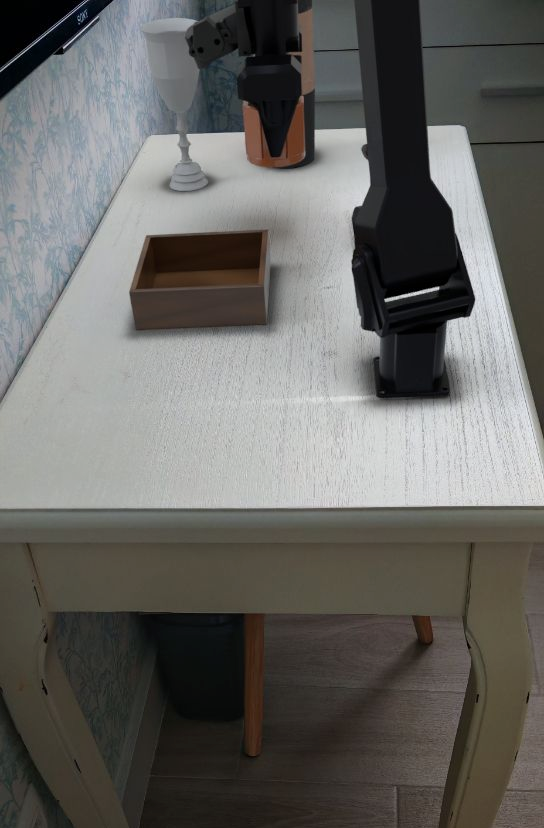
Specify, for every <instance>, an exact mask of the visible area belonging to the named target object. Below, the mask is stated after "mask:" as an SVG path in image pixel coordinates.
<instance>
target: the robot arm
mask: <svg viewBox="0 0 544 828" xmlns="http://www.w3.org/2000/svg"><path fill="white" fill-rule="evenodd" d="M353 1H354V2H353V3H354V12H355V13H354V14H355V23H356V24H355V25H356V35H357V47H358V57H359V58H358V60H359V69H360V81H361V92H362V105H363V111H364V112H363V114H364V124H365V125H364V126H365V136H366V144H367V149H368V160H369V163H368V168H369V170H368V171H369V188H368V190H367V192H366V195H365V197H364V198H363V199H364V200H363V201H362V204H361V205H358V206H355V207H354V209H353V212H352V215H351V225H352V232H353V239H354V240H353V242H354V249H353V252H352V259H351V260H350V261H351V274H352V277H353V285H354V293H355V300H356V301H355V303H356V307H357V310H358V315H359V317H360V328H361V329H362V330H364V331H369V332H372V333H375V334H376V336H378V337H379V356H374V357H373V358H372V365H373V374H374V375H373V376H374V385H375V394H376V395H375V396H376V398H378V399H405V398H406V399H407V398H434V397H435V398H436V397H438V398H439V397H448V396H450V394H451V384H450V380H449V375H448V371H447V365H446V360H445V352H446V340H447V328H448V322H449V321H454V320H457V319H461V318H463V319H465V318H469V317H471V314H472V313H473V310H474V306H475V303H476V296H475V295H476V294H475V292H474V289H473V285H472V282H471V278H470V275H469V271H468V268H467V264H466V262H465V261H466V260H465V258H464V254H463V251H462V247H461V244H460V241H459V237H458V235H457V233H456V228H455V221H454V211H453V209H452V207H451V206H450V204H449V202H448V201H447V200H446V198H445V197H444V195H443V194H442V192H441V191H440V189H439V188H438V187H437V185H436V184H435V182H434V180H433V179H432V174H431V164H430V163H431V162H430V149H429V148H430V147H429V146H430V145H429V128H428V111H427V96H426V79H425V77H426V76H425V63H424V61H425V60H424V48H423V47H424V46H423V45H424V44H423V29H422V28H423V27H422V15H421V13H422V12H421V0H353ZM197 21H198V20H196V22H194V24H193V25H192V26H190V27H189V28H188V29H187V31H186V34H185V40H186V42H187V44H188V47H189V55H190V56H191V57H193V58H194V60H195V63H196V65H197V67H198V69H200V70H204V69H206V68H208V67H210V66H211V65H212V63H213V62H215V61H217V60H219V59H221V58H223V57H226V56H228V55H229V54H232V53H233V52H235V51H236V50H237V51H238V52H237V53H238V57H245V58H244V60H243V61H242V62H241V64H240V65H239V66H238V68H237V73H236V89H237V99H238V100H241V101H242V102H243V101H246V102H249V103H250V104H251V105H253V106H254V107H255V108H256V109H257V111H258V114H259V117H260V121H261V124H262V128H263V132H264V135H265V139H266V143H267V146H268V150H269V154H270V156H271V157H272V158H275V157H280V156H281V154H282V151H283V147H284V144H285V141H286V138H287V135H288V132H289V128H290V126H291V122H292V119H293V116H294V113H295V110H296V107H297V104H298V101H299V98H300V96H302V71H301V64H302V56H301V55H292V54H289V52H302V26H301V25H300V24H299V23H298V0H234V4H231V5H229V6H227V7H225V8H223V9H220V10H218V11H217V12H214V13H212V14H211V15H206V16H205V17H204V18H202V19H201V20H199V21H198V22H197ZM252 55H253V56H252ZM368 160H367V161H368ZM434 288H438V289H436V290H431V289H434ZM426 290H431V291H427V292H423V293H418V292H422V291H426ZM414 293H418V294H415V295H410V296H405V297H402V298H397V299H392V298H395V297H400V296H404V295H408V294H414ZM390 298H391V299H392V300H388V301H386V300H387V299H390Z"/></svg>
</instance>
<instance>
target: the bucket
mask: <svg viewBox="0 0 544 828" xmlns="http://www.w3.org/2000/svg"><path fill="white" fill-rule="evenodd" d="M242 118H243V129H244V131H243V132H244V145H245V154H246V159H247V161H248V163H250V164H251V165H254V166H257V167H262V168H275V167H283V166H288V165H292V164H295V163H297V162H299V161H301V160H302V159H304V157H305V122H304V96H300V98H299V101H298V104H297V107H296V110H295V113H294V116H293V119H292V122H291V126H290V128H289V132H288V135H287V138H286V141H285V144H284V147H283V151H282V154H281V156H280V157H275V158H272V157H271V156H270V154H269V150H268V146H267V143H266V139H265V135H264V132H263V128H262V124H261V121H260V117H259V114H258V111H257V109H256V108H255V107H254V106H253V105H251V104H250V103H249V102H246V101H243V100H242Z"/></svg>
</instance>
